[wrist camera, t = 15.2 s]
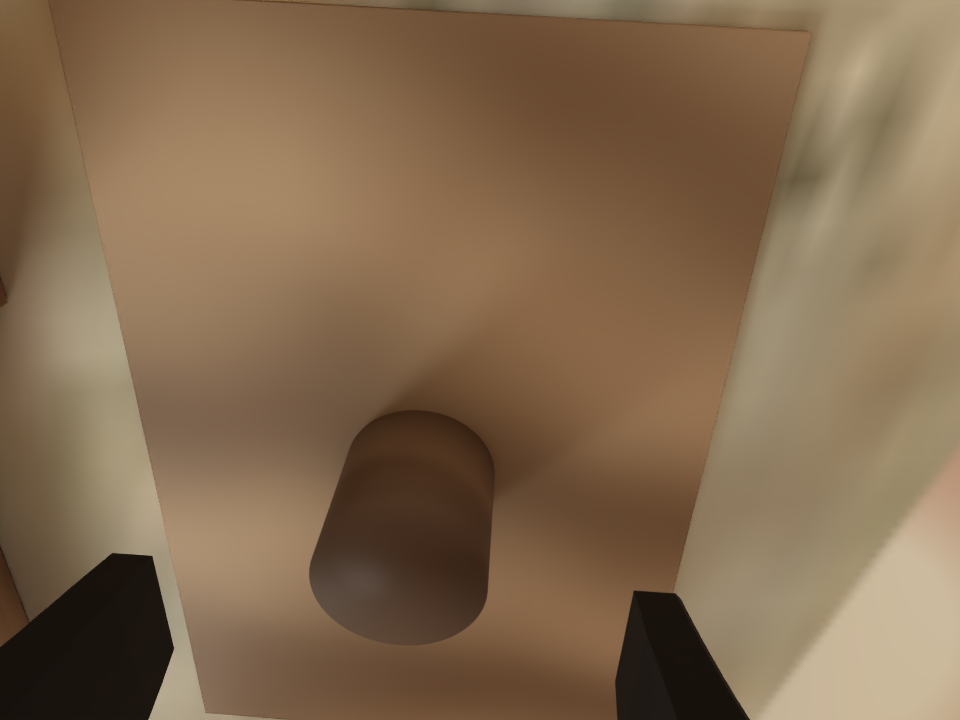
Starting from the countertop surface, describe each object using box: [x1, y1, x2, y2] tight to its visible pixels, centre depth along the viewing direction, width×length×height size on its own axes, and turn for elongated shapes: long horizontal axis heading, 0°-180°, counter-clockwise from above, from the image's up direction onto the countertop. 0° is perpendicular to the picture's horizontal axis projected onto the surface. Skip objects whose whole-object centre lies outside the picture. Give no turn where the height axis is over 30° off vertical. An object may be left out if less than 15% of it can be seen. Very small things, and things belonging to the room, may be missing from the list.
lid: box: [49, 0, 812, 720], centre depth 13 cm, size 16×10×4 cm, turn 177°
